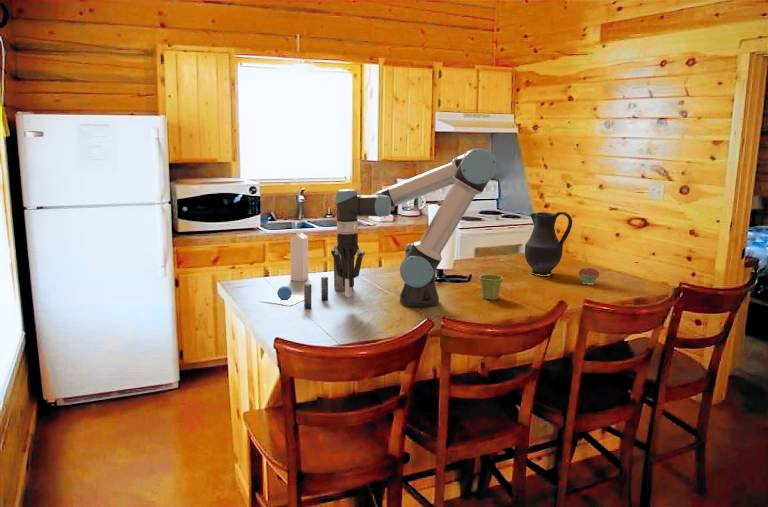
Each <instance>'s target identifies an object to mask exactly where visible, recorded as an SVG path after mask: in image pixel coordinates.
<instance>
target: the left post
mask: <svg viewBox="0 0 768 507" xmlns="http://www.w3.org/2000/svg"><path fill="white" fill-rule="evenodd" d="M303 296H304V301H303V303H304V306H303V309H304V310H311V309H312V284H310V283H305V284H303Z"/></svg>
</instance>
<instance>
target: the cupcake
mask: <svg viewBox="0 0 768 507" xmlns="http://www.w3.org/2000/svg"><path fill="white" fill-rule="evenodd" d="M584 260H585V268H581V270H579V271H578V275H579V276H580V279H581V282H584V283H594V284H595V283H596V280H597V279H598V278H599V277H600V272H599V271H598V270H597V269H594V268H592V267H590V268H589V266H588V259H587V258H584Z"/></svg>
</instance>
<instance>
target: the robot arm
mask: <svg viewBox="0 0 768 507" xmlns="http://www.w3.org/2000/svg"><path fill="white" fill-rule="evenodd" d="M497 165H498V164H497V158H496V157H495V155H494V154H493V153H492V152H491V151H490V150H489V149H487V148H485V147H482V146H480V147H479V146H478V147H477V146H476V147H473V148H471V149H469V150H467V151H466V152H465V153H462V154H460V155H459V156H457V157H455V158H452V160H451V162H449V163H447V164H445V165H442V166H439V167H437V168H433V169H431V170H429V171H427V172H424V173H421V174H419V175H416V176H414V177H412V178H409V179H406V180H404V181H401V182H399V183H396V184H393V185H391V186H389V187H387V188H384V189H382V190H377V191H375V192H374V193H372V194H371V195H369V194H368V195H365V194H364V195H362V194H361V195H360V194H358V191H357V190H356V189H351V188H350V189H349V188H348V189H347V188H345V189H338V190H337V191H336V198H335V209H336V231H337V234H336V242H337V244H338V245H337V244H336V245H337V248H336V249H335V250H334V249H333V250H331V251H330V253H331V255H332V257H333V262H334V261H335V265H336V269H337V273H338V276H340V277H342V278H343V286H344V287H345V291H344V296H345V297H351V296H353V290H352V287H353V288H354V287H355V278H357V277H359V275H360V271H361V268H362V266H361V265H362V261H363V258H364V256H365V254H366V252H365V251H362V250H361V249H360V247H359V245H358V244H359V233H358V230H359V229H358V227H359V225H358V217H378V218H379V217H380V218H382V217H389V216H390V215H391V212H392V211H391V210H392V208H395V207H397V206H399V205H403V204H405V203H407V202H409V201H414V200H415V199H418V198H420V197H423V196H425V195H428V194H431V193H433V192H435V191H439V190H441V189H444V188H446V187H449V186H451V185H452V186H451V187H450V189H449V191H448V192H447V194H446V195H445V197H444V199H443V201H442V202H441V204H440V206H439V208H438V209H437V211H436V212H435V214H434V216H433V218H432V220H431V222H430V223H429V225H428V226H427V228H426V230H425V231H424V232H423V235H422V236H421V238H420V240H419V241H415V242H413V243H407V244H406V245H405V248H404V252H405V253H404V254H405V256H404V259H403V260H402V262H401V264H400V266H399V275H400V277H401V279H402V281H403V282H404V284H403V286H402V290H401V292H400V295H399V303H400V304H401V305H403V306H406V307H409V308H419V309H422V308H432V307H436V306H437V305H439V303H440V296H439V293H438V289H437V286H436V270H437V269H438V266H439V265H440V263H441V262H442V261H443V257H442V252H443V250H444V249H445V247H446V245H447V243H448V241H449V240H450V238H451V237H452V235H453V233H454V232H455V230H456V228H457V227H458V225H459V224H460V221H461V220H462V218H463V217H464V215H465V213H466V212H467V211H468V208H469V207H470V205H471V204H472V202H473V200H474V198H475V197H476V196H477V195H479V194H482V193H483V192H484V190H485V189H486V187H487V185H488V184H489V182H490V180H492V179H493V177H494V176H495V174H496V172H497V167H498V166H497ZM339 253H340V255H341V260H342V264H341V260H340V256H339ZM355 256H356V257H355ZM355 259H356V260H355Z"/></svg>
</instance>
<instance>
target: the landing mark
mask: <svg viewBox="0 0 768 507" xmlns="http://www.w3.org/2000/svg"><path fill="white" fill-rule="evenodd" d="M293 296H294V298H293V302H294V301H295V302H294V303H293V306H294V304H295V305H296V303H297V304H298V303H301V302H304V301H303V300H304V295H299V294H293ZM290 305H291V304H290ZM281 306H284V305H283V304H282V305H281Z"/></svg>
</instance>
